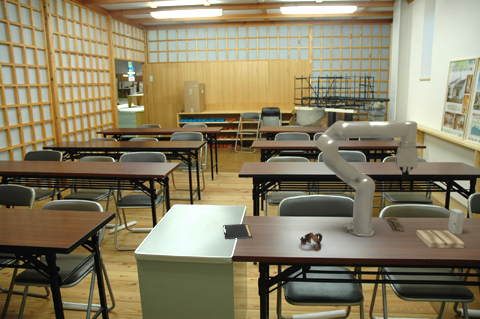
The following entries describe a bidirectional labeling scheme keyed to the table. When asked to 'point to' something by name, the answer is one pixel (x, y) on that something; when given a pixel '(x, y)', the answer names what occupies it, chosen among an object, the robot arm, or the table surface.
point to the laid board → (448, 238)
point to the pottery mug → (315, 239)
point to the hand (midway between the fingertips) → (404, 179)
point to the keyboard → (395, 224)
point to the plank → (430, 239)
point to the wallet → (237, 231)
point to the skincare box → (456, 221)
